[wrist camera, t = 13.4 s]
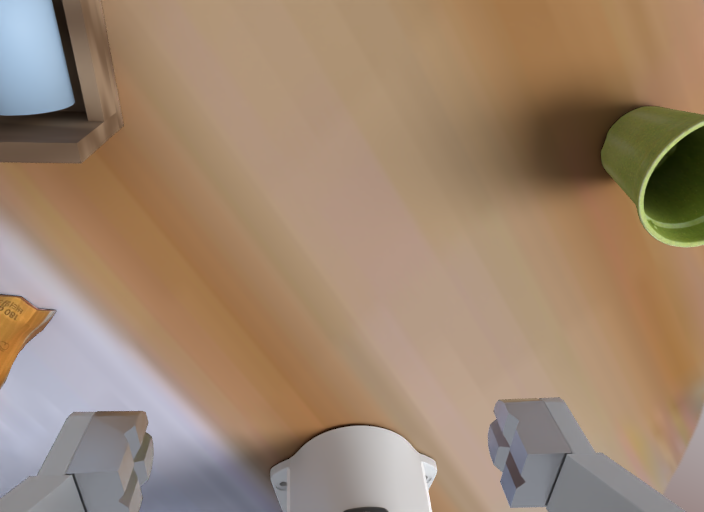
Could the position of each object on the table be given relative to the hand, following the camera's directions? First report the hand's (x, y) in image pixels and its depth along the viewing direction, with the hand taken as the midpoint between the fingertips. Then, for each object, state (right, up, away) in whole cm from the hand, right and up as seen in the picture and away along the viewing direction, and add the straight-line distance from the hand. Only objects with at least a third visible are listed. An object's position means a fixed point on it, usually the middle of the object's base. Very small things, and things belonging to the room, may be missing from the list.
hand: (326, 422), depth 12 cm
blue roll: (-20, +19, +20) cm, 34 cm away
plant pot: (+23, +13, +29) cm, 39 cm away
